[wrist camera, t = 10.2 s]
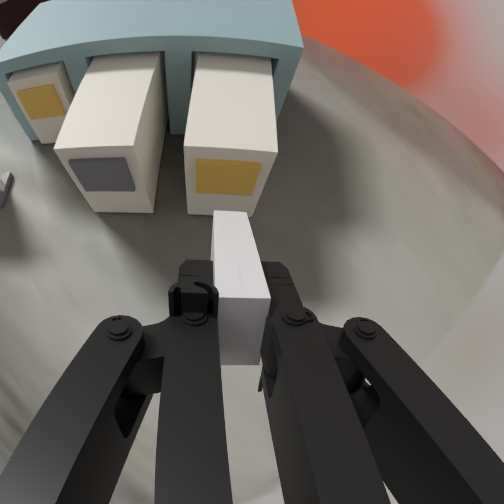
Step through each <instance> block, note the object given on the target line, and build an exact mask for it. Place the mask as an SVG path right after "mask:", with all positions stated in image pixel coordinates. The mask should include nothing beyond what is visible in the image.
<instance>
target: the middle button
mask: <svg viewBox="0 0 504 504" xmlns="http://www.w3.org/2000/svg"><path fill="white" fill-rule="evenodd" d="M168 117H169V112H168V98H167V84H166V66H165V51H150V52H130V53H117V54H107V55H97V56H95V57H94V58H93V60H92V62H91V64H90V66H89V68H88V70H87V72H86V74H85V76H84V78H83V80H82V82H81V84H80V86H79V88H78V90H77V92H76V94H75V97H74V99H73V101H72V103H71V106H70V108H69V110H68V113H67V115H66V117H65V120H64V122H63V125H62V127H61V130H60V133H59V135H58V138H57V141H56V143H55V146H54V151H55V153H56V154H57V156H58V157H59V159H60V161H61V162H62V164H63V165H64V167H65V169H66V170H67V172H68V173H69V175H70V176H71V178H72V179H73V181H74V182H75V184H76V186H77V187H78V189H79V190H80V192H81V193H82V194H83V196H84V197H85V199H86V200H87V202H88V203H89V205H90V206H91V208H92V209H93V210H94V212H127V213H153V212H154V203H155V196H156V188H157V181H158V174H159V168H160V161H161V155H162V149H163V143H164V138H165V132H166V127H167V122H168Z"/></svg>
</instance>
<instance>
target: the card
mask: <svg viewBox="0 0 504 504" xmlns="http://www.w3.org/2000/svg"><path fill="white" fill-rule="evenodd" d="M12 177H13V175H12V174H11V173H10V172H3V173H0V208H3V206H4V203H5V199H6V196H7V192H8V189H9V186H10V183H11V180H12Z"/></svg>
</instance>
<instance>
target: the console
mask: <svg viewBox="0 0 504 504" xmlns="http://www.w3.org/2000/svg"><path fill="white" fill-rule="evenodd" d="M303 49H304V46H303V42H302V38H301V34H300V30H299V26H298V22H297V19H296V15H295V11H294V7H293V4H292V0H50V1H46V2H43V3H40V4H39V5H38V6H37V7H36V8H35V9H34V10H33V11H32V12H31V13H30V15H29V16H28V17H27V18H26V19H25V20H24V21H23V22H22V23H21V25H20V26H19V27H18V28H17V29H16V30H15V31H14V33H13V34H12V35H11V36H10V37H9V39H8V40H7V41H6V42H5V44H4V45H3V46H2V48H1V49H0V91H1V93H2V94H3V96H4V98H5V100H6V101H7V103H8V105H9V106H10V108H11V110H12V111H13V113H14V115H15V116H16V118H17V120H18V121H19V123H20V125H21V126H22V128H23V129H24V131H25V132H26V134H27V136H28V137H29V139H30V140H31V141H35V140H39V138H38V137H37V135H36V133H35V132H34V130H33V129H32V127H31V125H30V124H29V122H28V120H27V118H26V117H25V115H24V113H23V112H22V110H21V108H20V106H19V104H18V103H17V101H16V99H15V97H14V95H13V94H12V92H11V90H10V88H9V86H8V84H7V82H8V80H9V79H10V77H11V76H12V74H13V72H14V71H17V70H21V69H25V68H29V67H34V66H38V65H43V64H47V63H52V62H58V61H64V64H65V67H66V70H67V73H68V76H69V78H70V81H71V84H72V87H73V89H74V92H75V94H76V92H77V90H78V88H79V86H80V84H81V82H82V80H83V78H84V76H85V74H86V72H87V70H88V68H89V66H90V64H91V62H92V60H93V58H94V57H95V56H97V55H107V54H117V53H130V52H150V51H165V66H166V84H167V98H168V112H169V124H170V134H185V132H186V125H187V118H188V112H189V105H190V99H191V93H192V87H193V81H194V76H195V70H196V65H197V60H198V55H199V51H200V52H219V53H233V54H244V55H253V56H262V57H269V58H271V67H272V79H273V91H274V103H275V116H276V123H277V120H278V117H279V115H280V112H281V109H282V106H283V103H284V101H285V98H286V95H287V92H288V90H289V87H290V84H291V81H292V79H293V76H294V73H295V70H296V68H297V65H298V62H299V60H300V57H301V54H302V51H303Z"/></svg>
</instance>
